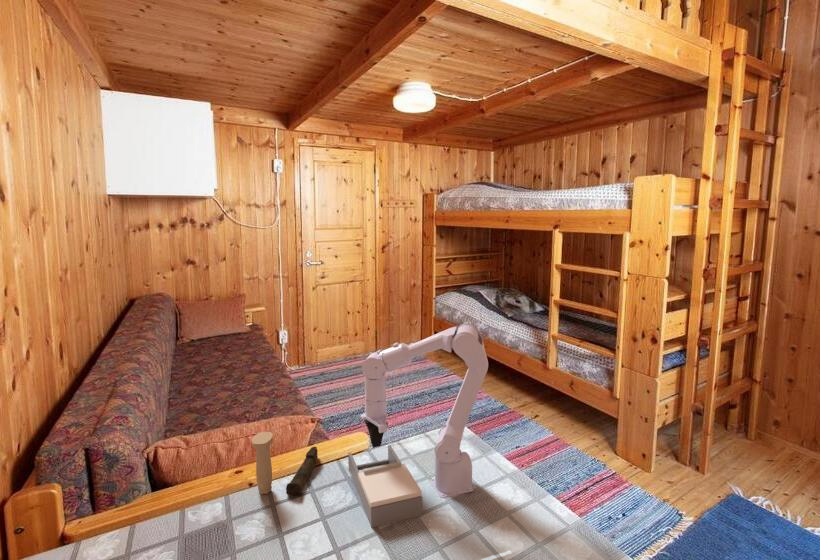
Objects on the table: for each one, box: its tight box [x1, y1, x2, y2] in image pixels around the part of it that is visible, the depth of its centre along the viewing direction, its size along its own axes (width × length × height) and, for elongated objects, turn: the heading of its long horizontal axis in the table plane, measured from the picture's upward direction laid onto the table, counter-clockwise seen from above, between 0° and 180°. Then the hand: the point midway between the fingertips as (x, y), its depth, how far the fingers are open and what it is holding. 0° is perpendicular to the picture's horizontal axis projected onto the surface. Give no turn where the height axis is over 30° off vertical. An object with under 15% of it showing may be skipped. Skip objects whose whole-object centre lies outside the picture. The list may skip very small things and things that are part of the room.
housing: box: [347, 444, 423, 529], centre depth 112 cm, size 13×26×5 cm, turn 20°
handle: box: [251, 431, 274, 495], centre depth 111 cm, size 5×6×15 cm
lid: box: [358, 462, 423, 508], centre depth 106 cm, size 13×13×2 cm
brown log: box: [285, 446, 318, 498], centre depth 119 cm, size 19×4×5 cm, turn 172°
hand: (376, 445), depth 116 cm, fingers closed
